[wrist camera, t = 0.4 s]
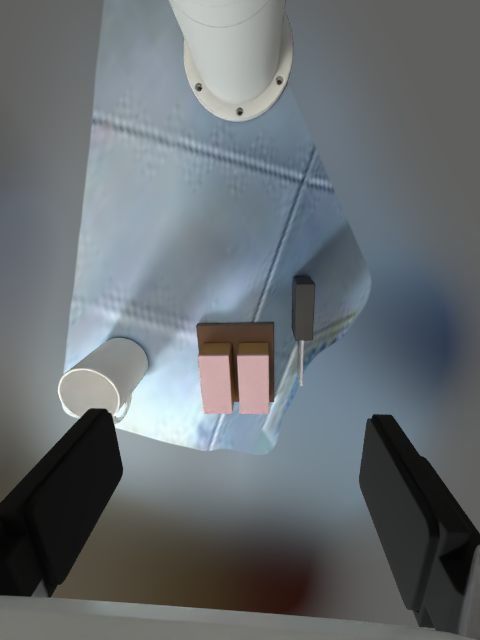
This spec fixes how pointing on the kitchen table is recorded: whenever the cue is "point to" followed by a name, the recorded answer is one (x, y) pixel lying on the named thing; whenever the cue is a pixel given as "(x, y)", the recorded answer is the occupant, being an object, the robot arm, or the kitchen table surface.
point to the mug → (104, 378)
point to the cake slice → (253, 378)
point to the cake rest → (216, 378)
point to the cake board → (240, 334)
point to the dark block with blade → (302, 315)
